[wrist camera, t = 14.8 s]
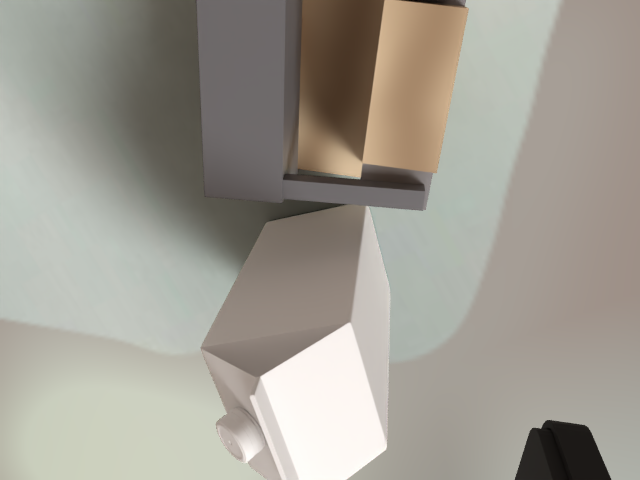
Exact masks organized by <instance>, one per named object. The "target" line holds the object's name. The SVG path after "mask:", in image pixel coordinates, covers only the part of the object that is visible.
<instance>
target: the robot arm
mask: <svg viewBox="0 0 640 480" xmlns="http://www.w3.org/2000/svg"><path fill="white" fill-rule="evenodd" d="M515 480H611V478H610V475H609V473H608V471H607V468H606V466H605V464H604V461H603V459H602V457H601V455H600V452H599V450H598V447H597V445H596V443H595V441H594V438H593V436H592V433H591V432H590V430H589V428H588V427H587V426H585V425H579V424H573V423H566V422H559V421H552V420H547V421H545V423H544V424H543V426H542V428H541V429H539V428H532V429H531V430H530V433H529V436H528V439H527V442H526V445H525V448H524V452H523V455H522V458H521V461H520V465H519V468H518V471H517V474H516V477H515Z"/></svg>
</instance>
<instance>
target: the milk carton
mask: <svg viewBox="0 0 640 480" xmlns="http://www.w3.org/2000/svg"><path fill="white" fill-rule="evenodd" d="M389 332H390V287H389V283H388V279H387V275H386V271H385V267H384V263H383V259H382V255H381V251H380V248H379V244H378V240H377V236H376V232H375V228H374V224H373V220H372V216H371V213H370V209H369V206H362V205H350V204H348V205H344V206H339V207H334V208H330V209H325V210H320V211H316V212H311V213H306V214H302V215H297V216H292V217H288V218H283V219H278V220H274V221H269V222H266V224H265V226H264V227H263V229H262V231H261V233H260V235H259V237H258V239H257V241H256V243H255V245H254V246H253V248H252V250H251V252H250V254H249V256H248V258H247V260H246V262H245V264H244V265H243V267H242V269H241V271H240V273H239V275H238V277H237V279H236V281H235V283H234V284H233V286H232V288H231V290H230V292H229V294H228V296H227V298H226V300H225V302H224V303H223V305H222V307H221V309H220V311H219V313H218V315H217V317H216V319H215V321H214V322H213V324H212V326H211V328H210V330H209V332H208V334H207V336H206V338H205V340H204V342H203V344H202V346H201V351H202V354H203V356H204V359H205V361H206V364H207V366H208V369H209V371H210V374H211V376H212V378H213V381H214V383H215V385H216V388H217V390H218V393H219V395H220V398H221V400H222V402H223V405H224V407H225V410H226V412H227V414H226V415H224V416H223V417H222V418H220V419H219V420H218V421H217V422H216V429H217V432H218V434H219V437H220V439H221V441H222V443H223V444H224V446H225V447H226V449H227V450H228V451H229V452H230V453H231V454H232V455H233V456H234V457H235V458H236V459H237V460H239V461H241V462H243V463H246V462H248V464H249V465H250V467H251V468H253V469H254V470H255V471H256V472H258V473H259V474H260V475H262V476H263V477H264V478H266V479H267V480H346V479H348V478H349V477H350V476H352V475H353V474H354V473H356V472H357V471H358V470H360V469H361V468H362V467H364V466H365V465H366V464H367V463H369V462H370V461H371V460H372V459H374V458H375V457H377V456H378V455H379V454H381V453H382V452H383V451H385V450H386V449H387V416H388V414H387V413H388V374H389V372H388V371H389Z"/></svg>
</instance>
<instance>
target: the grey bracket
mask: <svg viewBox="0 0 640 480" xmlns="http://www.w3.org/2000/svg"><path fill="white" fill-rule="evenodd" d="M196 3H197V27H198V51H199V75H200V98H201V122H202V146H203V170H204V194H205V197H215V198H227V199H239V200H250V201H262V202H274V203H282V202H283V200H284V199H291V200H303V201H315V202H327V203H339V204H350V205H362V206H374V207H386V208H398V209H410V210H422V211H423V205H424V197H425V186H424V185H422V184H409V183H397V182H384V181H372V180H359V179H347V178H335V177H322V176H310V175H297V172H298V137H299V102H300V67H301V31H302V0H196Z"/></svg>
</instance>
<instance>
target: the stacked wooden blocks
mask: <svg viewBox="0 0 640 480" xmlns="http://www.w3.org/2000/svg"><path fill="white" fill-rule="evenodd" d="M465 2H466V0H302V31H301V67H300V102H299V137H298V169H302V170H310V171H317V172H324V173H332V174H339V175H347V176H354V177H361V179H360V180H372V181H384V182H397V183H409V184H422V185H424V186H425V197H424V205H423V210H426V205H427V200H428V195H429V190H430V185H431V179H432V174H433V173H437V168H438V163H439V158H440V153H441V148H442V143H443V138H444V132H445V127H446V122H447V117H448V112H449V107H450V102H451V97H452V91H453V86H454V81H455V76H456V71H457V66H458V61H459V55H460V50H461V45H462V40H463V35H464V30H465V25H466V20H467V14H468V9H469V8H467V7H465Z"/></svg>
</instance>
